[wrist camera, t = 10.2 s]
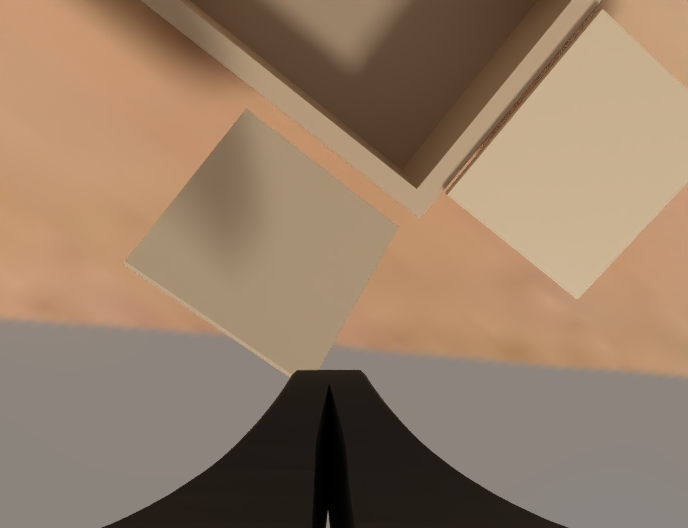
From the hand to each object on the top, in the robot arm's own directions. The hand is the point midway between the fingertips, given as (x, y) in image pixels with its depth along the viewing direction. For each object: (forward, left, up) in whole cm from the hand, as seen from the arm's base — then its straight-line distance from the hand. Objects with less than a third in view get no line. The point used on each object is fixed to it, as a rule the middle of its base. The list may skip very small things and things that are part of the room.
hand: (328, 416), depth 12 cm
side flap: (+2, -1, -4) cm, 5 cm away
